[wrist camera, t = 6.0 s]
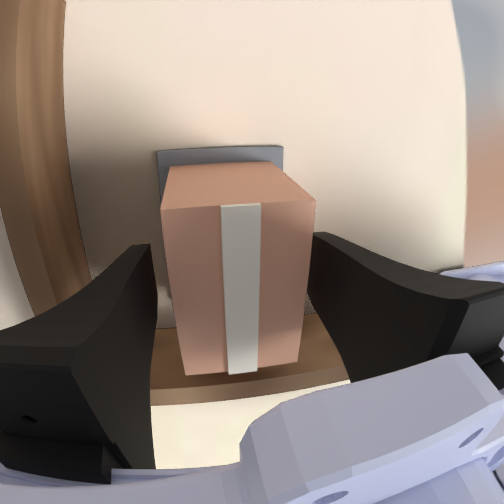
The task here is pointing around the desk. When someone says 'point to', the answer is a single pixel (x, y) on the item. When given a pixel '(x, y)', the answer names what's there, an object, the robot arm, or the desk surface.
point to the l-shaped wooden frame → (66, 222)
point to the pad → (215, 158)
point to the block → (236, 264)
